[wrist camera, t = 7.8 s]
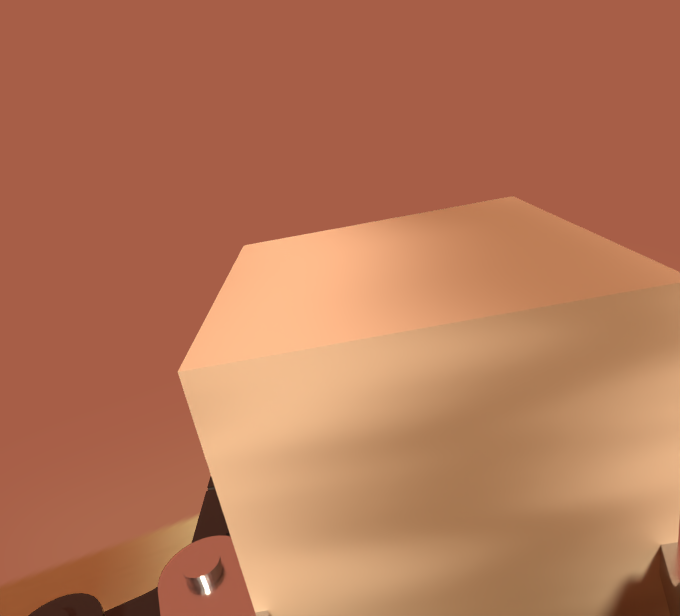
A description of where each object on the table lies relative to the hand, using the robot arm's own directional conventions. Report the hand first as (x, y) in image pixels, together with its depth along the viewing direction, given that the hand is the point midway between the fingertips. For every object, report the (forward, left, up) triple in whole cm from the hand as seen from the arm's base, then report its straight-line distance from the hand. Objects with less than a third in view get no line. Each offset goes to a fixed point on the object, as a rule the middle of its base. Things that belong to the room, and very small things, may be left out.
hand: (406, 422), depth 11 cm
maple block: (0, -3, -7) cm, 7 cm away
